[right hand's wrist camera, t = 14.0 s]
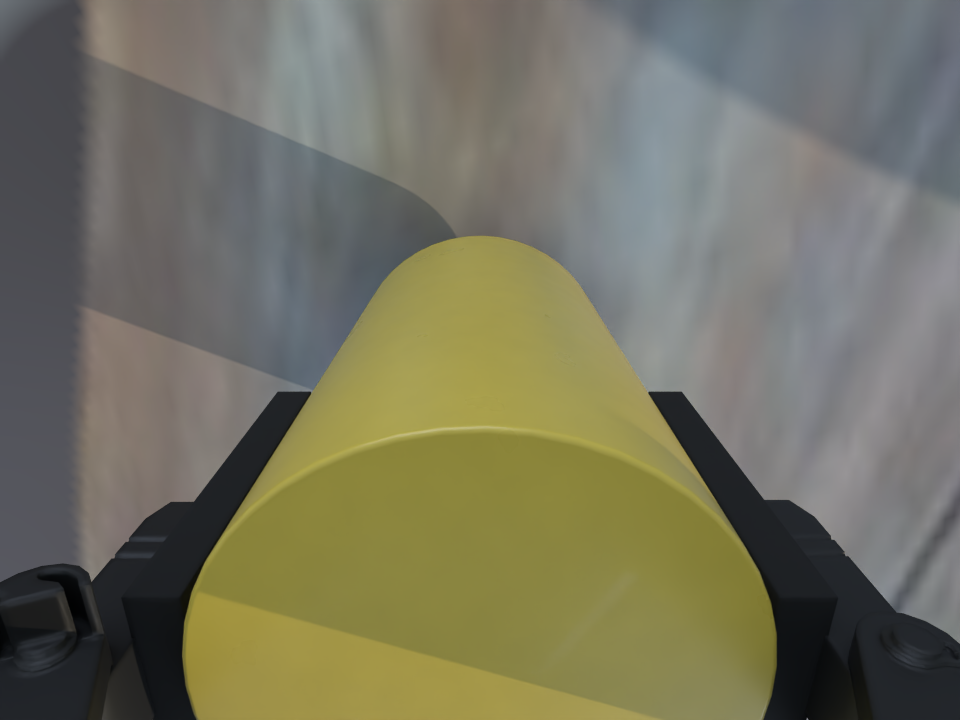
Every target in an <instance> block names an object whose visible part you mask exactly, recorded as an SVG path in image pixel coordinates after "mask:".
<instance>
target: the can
mask: <svg viewBox="0 0 960 720" xmlns="http://www.w3.org/2000/svg"><path fill="white" fill-rule="evenodd" d="M182 659H183V668H184V677H185V686H186V689H187V693H188V696H189V699H190V703H191V706H192V710H193V713H194V715H195V718H196V720H763V719H764V716H765V713H766V710H767V707H768V705H769V702H770V699H771V696H772V691H773V685H774V679H775V674H776V668H777V632H776V627H775V621H774V616H773V610H772V605H771V601H770V598H769V595H768V593H767V590H766V587H765V585H764V582H763V579H762V577H761V574H760V572H759V570H758V568H757V566H756V565H755V563H754V561H753V560H752V558H751V556H750V554H749V553H748V551H747V549H746V548H745V546H744V544H743V543H742V541H741V539H740V538H739V536H738V535H737V533H736V531H735V530H734V528H733V527H732V525H731V524H730V522H729V520H728V519H727V517H726V516H725V514H724V512H723V511H722V509H721V508H720V506H719V505H718V503H717V501H716V500H715V498H714V497H713V495H712V493H711V492H710V490H709V489H708V487H707V486H706V484H705V482H704V481H703V479H702V478H701V476H700V475H699V473H698V471H697V470H696V468H695V467H694V465H693V463H692V462H691V460H690V459H689V457H688V456H687V454H686V452H685V451H684V449H683V448H682V446H681V444H680V443H679V441H678V440H677V438H676V437H675V435H674V433H673V432H672V430H671V429H670V427H669V425H668V424H667V422H666V421H665V419H664V418H663V416H662V414H661V413H660V411H659V410H658V408H657V406H656V405H655V403H654V402H653V400H652V399H651V397H650V395H649V394H648V392H647V391H646V389H645V388H644V386H643V384H642V383H641V381H640V380H639V378H638V376H637V375H636V373H635V372H634V370H633V369H632V367H631V365H630V364H629V362H628V361H627V359H626V357H625V356H624V354H623V353H622V351H621V350H620V348H619V346H618V345H617V343H616V342H615V340H614V338H613V337H612V335H611V334H610V332H609V331H608V329H607V327H606V326H605V324H604V323H603V321H602V320H601V318H600V316H599V315H598V313H597V312H596V310H595V308H594V307H593V305H592V304H591V302H590V301H589V299H588V297H587V296H586V294H585V293H584V291H583V289H582V288H581V287H580V285H579V284H578V283H577V282H576V280H575V279H574V278H573V277H572V275H571V274H570V273H569V272H568V271H566V270H565V269H564V268H563V267H562V266H561V265H560V264H559V263H558V262H556V261H555V260H553V259H552V258H551V257H549V256H548V255H546V254H544V253H543V252H541V251H539V250H537V249H535V248H533V247H531V246H528V245H526V244H523V243H520V242H517V241H514V240H509V239H505V238H500V237H490V236H467V237H461V238H455V239H449V240H446V241H443V242H440V243H437V244H433V245H431V246H429V247H427V248H425V249H423V250H421V251H419V252H417V253H415V254H414V255H412V256H411V257H409V258H408V259H406V260H405V261H403V262H402V263H401V264H400V265H399V266H398V267H396V268H395V269H394V270H393V271H392V272H391V273H390V274H389V275H388V277H387V278H386V279H385V280H384V281H383V282H382V283H381V285H380V286H379V288H378V289H377V291H376V293H375V294H374V296H373V297H372V299H371V300H370V302H369V303H368V305H367V307H366V308H365V310H364V311H363V313H362V314H361V316H360V318H359V319H358V321H357V322H356V324H355V326H354V327H353V329H352V330H351V332H350V333H349V335H348V337H347V338H346V340H345V341H344V343H343V344H342V346H341V348H340V349H339V351H338V352H337V354H336V356H335V357H334V359H333V360H332V362H331V363H330V365H329V367H328V368H327V370H326V371H325V373H324V375H323V376H322V378H321V379H320V381H319V382H318V384H317V386H316V387H315V389H314V390H313V392H312V393H311V395H310V397H309V398H308V400H307V401H306V403H305V405H304V406H303V408H302V409H301V411H300V412H299V414H298V416H297V417H296V419H295V420H294V422H293V424H292V425H291V427H290V428H289V430H288V431H287V433H286V435H285V436H284V438H283V439H282V441H281V442H280V444H279V446H278V447H277V449H276V450H275V452H274V454H273V455H272V457H271V458H270V460H269V461H268V463H267V465H266V466H265V468H264V469H263V471H262V472H261V474H260V476H259V477H258V479H257V480H256V482H255V484H254V485H253V487H252V488H251V490H250V491H249V493H248V495H247V496H246V498H245V499H244V501H243V503H242V504H241V506H240V507H239V509H238V510H237V512H236V514H235V515H234V517H233V518H232V520H231V521H230V523H229V525H228V526H227V528H226V529H225V531H224V533H223V534H222V536H221V537H220V539H219V540H218V542H217V544H216V545H215V547H214V548H213V550H212V552H211V553H210V555H209V556H208V558H207V559H206V561H205V563H204V565H203V567H202V570H201V572H200V574H199V576H198V579H197V581H196V583H195V585H194V588H193V590H192V593H191V597H190V601H189V605H188V609H187V613H186V617H185V621H184V634H183V649H182Z"/></svg>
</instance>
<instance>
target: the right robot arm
mask: <svg viewBox="0 0 960 720" xmlns="http://www.w3.org/2000/svg"><path fill="white" fill-rule="evenodd" d="M648 394H649V395H650V397H651V399H652V400H653V402H654V403H655V405H656V406H657V408H658V410H659V411H660V413H661V414H662V416H663V418H664V419H665V421H666V422H667V424H668V425H669V427H670V429H671V430H672V432H673V433H674V435H675V437H676V438H677V440H678V441H679V443H680V444H681V446H682V448H683V449H684V451H685V452H686V454H687V456H688V457H689V459H690V460H691V462H692V463H693V465H694V467H695V468H696V470H697V471H698V473H699V475H700V476H701V478H702V479H703V481H704V482H705V484H706V486H707V487H708V489H709V490H710V492H711V493H712V495H713V497H714V498H715V500H716V501H717V503H718V505H719V506H720V508H721V509H722V511H723V512H724V514H725V516H726V517H727V519H728V520H729V522H730V524H731V525H732V527H733V528H734V530H735V531H736V533H737V535H738V536H739V538H740V539H741V541H742V543H743V544H744V546H745V548H746V549H747V551H748V553H749V554H750V556H751V558H752V560H753V561H754V563H755V565H756V566H757V568H758V570H759V572H760V574H761V577H762V579H763V582H764V585H765V587H766V590H767V593H768V595H769V598H770V601H771V605H772V610H773V616H774V621H775V627H776V632H777V668H776V674H775V679H774V685H773V691H772V696H771V699H770V702H769V705H768V707H767V710H766V713H765V716H764V719H763V720H806V719H807V718H808V720H960V644H959V643H958V642H957V641H956V640H954V639H953V638H952V637H951V636H950V635H949V634H947V633H946V632H944V631H942V630H940V629H938V628H937V627H935V626H933V625H931V624H930V623H928V622H926V621H923V620H920V619H918V618H915V617H912V616H909V615H906V614H903V613H896V611H895V610H894V609H893V608H892V607H891V606H890V604H889V603H888V602H887V601H886V600H885V599H884V597H883V596H882V595H881V594H880V593H879V592H878V590H877V589H876V588H875V587H874V586H873V585H872V583H871V582H870V581H869V580H868V579H867V578H866V576H865V575H864V574H863V573H862V572H861V571H860V569H859V568H858V567H857V566H856V565H855V564H854V562H853V561H852V560H851V559H850V558H849V557H848V556H845V552H844V551H843V550H842V548H841V547H840V546H839V545H838V544H837V543H836V541H835V540H831V536H830V534H829V533H828V532H827V531H826V530H825V529H824V527H823V526H822V525H821V524H820V523H819V522H818V520H817V519H816V518H815V517H814V516H812V515H811V514H809V513H808V512H806V511H805V510H803V509H802V508H800V507H799V506H797V505H796V504H794V503H793V502H791V501H790V500H764V499H763V498H762V497H761V495H760V494H759V493H758V491H757V490H756V489H755V487H754V486H753V485H752V483H751V482H750V481H749V479H748V478H747V477H746V476H745V474H744V473H743V472H742V470H741V469H740V468H739V466H738V465H737V464H736V462H735V461H734V460H733V458H732V457H731V456H730V455H729V453H728V452H727V451H726V449H725V448H724V447H723V445H722V444H721V443H720V441H719V440H718V439H717V437H716V436H715V435H714V434H713V432H712V431H711V430H710V428H709V427H708V426H707V424H706V423H705V422H704V420H703V419H702V418H701V416H700V415H699V414H698V413H697V411H696V410H695V409H694V407H693V406H692V405H691V403H690V402H689V401H688V399H687V398H686V397H685V395H684V394H683V393H682V392H649V393H648ZM310 395H311V392H277V394H276V395H275V396H274V397H273V399H272V400H271V401H270V403H269V404H268V405H267V407H266V408H265V409H264V411H263V412H262V413H261V415H260V416H259V417H258V418H257V420H256V421H255V422H254V424H253V425H252V426H251V428H250V429H249V430H248V432H247V433H246V434H245V436H244V437H243V438H242V439H241V441H240V442H239V443H238V445H237V446H236V447H235V449H234V450H233V451H232V453H231V454H230V455H229V457H228V458H227V459H226V460H225V462H224V463H223V464H222V466H221V467H220V468H219V470H218V471H217V472H216V474H215V475H214V476H213V478H212V479H211V480H210V481H209V483H208V484H207V485H206V487H205V488H204V489H203V491H202V492H201V493H200V495H199V496H198V497H197V499H196V500H195V501H194V502H170V503H169V504H167V505H166V506H164V507H163V508H161V509H160V510H158V511H157V512H155V513H154V514H152V515H151V516H149V517H147V518H146V519H145V520H144V521H143V522H142V524H141V525H140V526H139V527H138V528H137V529H136V531H135V532H134V533H133V534H132V535H131V536H130V538H129V542H125V544H124V545H123V546H122V547H121V548H120V549H119V551H118V552H117V553H116V554H115V558H114V559H111V560H110V561H109V562H108V563H107V565H106V566H105V567H104V568H103V569H102V570H101V572H100V573H99V574H98V575H97V576H96V578H95V579H94V580H93V581H92V582H91V579H90V576H89V573H88V572H87V571H85V570H84V569H82V568H81V567H80V566H76V565H69V564H55V565H47V566H40V567H37V568H34V569H31V570H28V571H24V572H21V573H18V574H16V575H14V576H12V577H10V578H8V579H6V580H4V581H2V582H0V720H196V718H195V715H194V713H193V710H192V706H191V703H190V699H189V696H188V693H187V689H186V686H185V677H184V668H183V659H182V649H183V634H184V621H185V617H186V613H187V609H188V605H189V601H190V597H191V593H192V590H193V588H194V585H195V583H196V581H197V579H198V576H199V574H200V572H201V570H202V567H203V565H204V563H205V561H206V559H207V558H208V556H209V555H210V553H211V552H212V550H213V548H214V547H215V545H216V544H217V542H218V540H219V539H220V537H221V536H222V534H223V533H224V531H225V529H226V528H227V526H228V525H229V523H230V521H231V520H232V518H233V517H234V515H235V514H236V512H237V510H238V509H239V507H240V506H241V504H242V503H243V501H244V499H245V498H246V496H247V495H248V493H249V491H250V490H251V488H252V487H253V485H254V484H255V482H256V480H257V479H258V477H259V476H260V474H261V472H262V471H263V469H264V468H265V466H266V465H267V463H268V461H269V460H270V458H271V457H272V455H273V454H274V452H275V450H276V449H277V447H278V446H279V444H280V442H281V441H282V439H283V438H284V436H285V435H286V433H287V431H288V430H289V428H290V427H291V425H292V424H293V422H294V420H295V419H296V417H297V416H298V414H299V412H300V411H301V409H302V408H303V406H304V405H305V403H306V401H307V400H308V398H309V397H310Z"/></svg>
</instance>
